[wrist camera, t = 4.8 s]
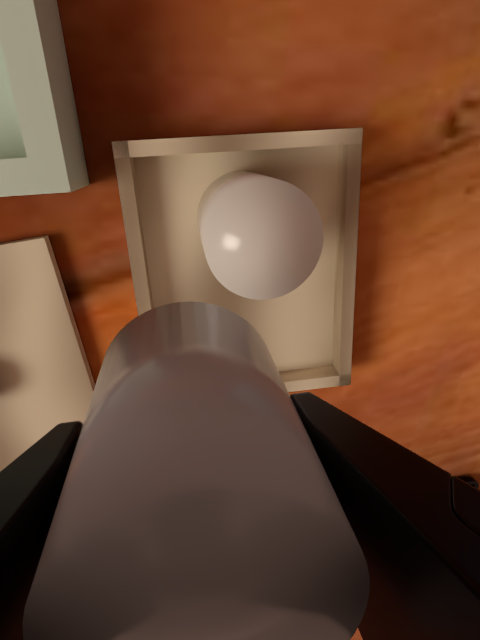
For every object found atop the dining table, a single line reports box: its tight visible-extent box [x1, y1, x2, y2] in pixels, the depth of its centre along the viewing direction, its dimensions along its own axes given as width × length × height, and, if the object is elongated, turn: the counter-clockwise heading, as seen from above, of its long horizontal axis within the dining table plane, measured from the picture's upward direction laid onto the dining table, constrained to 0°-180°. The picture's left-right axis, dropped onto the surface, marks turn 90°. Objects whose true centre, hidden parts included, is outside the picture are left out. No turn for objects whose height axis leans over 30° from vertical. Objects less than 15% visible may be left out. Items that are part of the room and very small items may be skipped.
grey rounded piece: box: [22, 301, 370, 640], centre depth 8 cm, size 4×4×6 cm
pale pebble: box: [197, 171, 324, 300], centre depth 17 cm, size 4×4×6 cm
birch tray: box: [112, 128, 363, 392], centre depth 20 cm, size 10×12×2 cm
